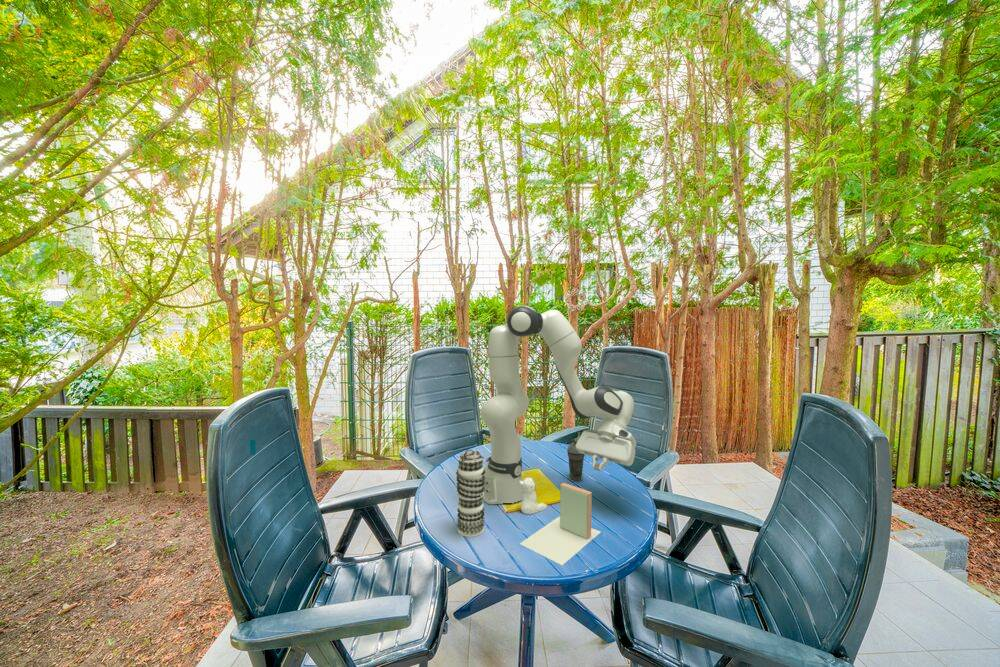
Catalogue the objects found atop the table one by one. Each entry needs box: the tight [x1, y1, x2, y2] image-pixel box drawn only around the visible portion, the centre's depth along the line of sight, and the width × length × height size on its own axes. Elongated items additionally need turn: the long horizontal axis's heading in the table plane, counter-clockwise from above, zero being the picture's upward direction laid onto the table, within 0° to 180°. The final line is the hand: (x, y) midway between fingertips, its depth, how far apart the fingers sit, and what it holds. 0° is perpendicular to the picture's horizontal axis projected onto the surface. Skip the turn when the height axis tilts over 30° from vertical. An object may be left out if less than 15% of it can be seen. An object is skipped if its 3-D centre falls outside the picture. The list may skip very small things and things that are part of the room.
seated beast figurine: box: [519, 477, 548, 515], centre depth 140 cm, size 10×9×12 cm
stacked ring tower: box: [455, 449, 485, 538], centre depth 128 cm, size 9×9×25 cm
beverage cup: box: [566, 431, 586, 482], centre depth 166 cm, size 7×7×20 cm
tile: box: [559, 482, 593, 539], centre depth 126 cm, size 10×2×14 cm, turn 48°
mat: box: [519, 515, 602, 566], centre depth 123 cm, size 15×22×1 cm
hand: (596, 469), depth 135 cm, fingers closed
